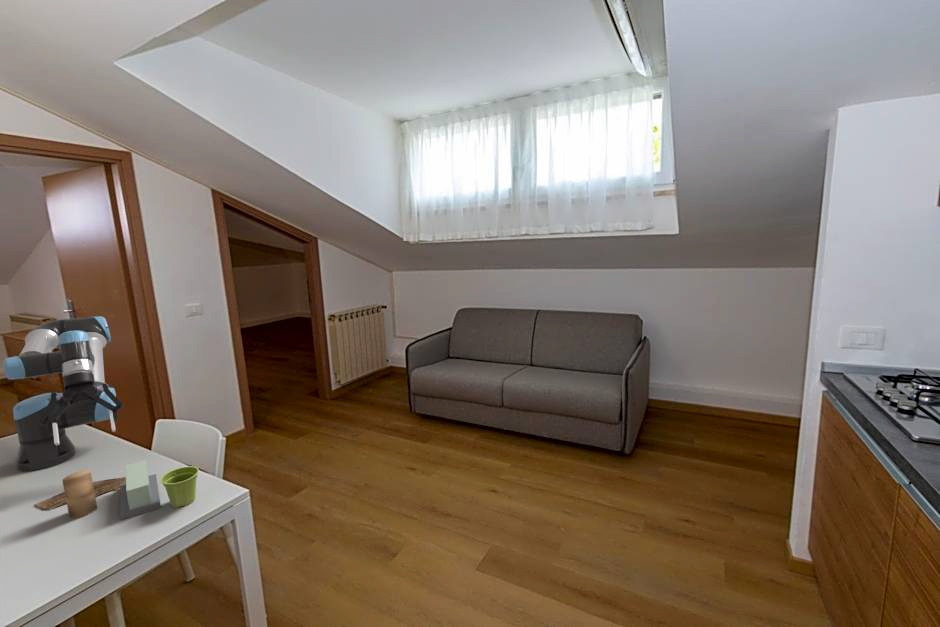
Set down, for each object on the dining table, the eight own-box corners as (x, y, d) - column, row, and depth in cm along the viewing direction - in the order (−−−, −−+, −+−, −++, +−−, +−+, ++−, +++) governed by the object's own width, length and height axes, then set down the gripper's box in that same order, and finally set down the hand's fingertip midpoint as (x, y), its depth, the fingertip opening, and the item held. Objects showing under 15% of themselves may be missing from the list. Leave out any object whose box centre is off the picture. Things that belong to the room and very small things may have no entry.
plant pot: (209, 495, 130) (206, 469, 128) (179, 514, 121) (175, 486, 120) (187, 489, 133) (183, 464, 131) (156, 507, 124) (152, 480, 123)
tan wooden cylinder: (70, 510, 123) (63, 475, 121) (97, 502, 127) (91, 468, 125) (68, 521, 119) (61, 484, 117) (96, 512, 122) (90, 477, 120)
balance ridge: (121, 488, 134) (117, 466, 133) (156, 478, 140) (153, 456, 138) (121, 519, 119) (117, 495, 118) (160, 507, 124) (157, 483, 123)
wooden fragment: (30, 516, 121) (29, 513, 121) (37, 498, 130) (36, 495, 130) (143, 484, 137) (143, 481, 137) (143, 470, 145) (143, 467, 145)
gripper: (22, 380, 131) (27, 447, 126) (125, 363, 147) (134, 423, 141) (28, 387, 137) (34, 452, 131) (127, 371, 152) (136, 428, 146)
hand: (86, 437), depth 136 cm, fingers open, 13 cm apart
